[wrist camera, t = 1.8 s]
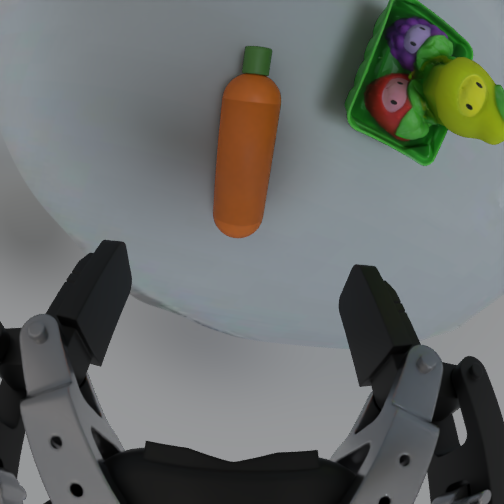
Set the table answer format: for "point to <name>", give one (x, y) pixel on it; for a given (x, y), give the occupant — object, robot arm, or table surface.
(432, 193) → the table surface
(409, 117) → the fruit basket
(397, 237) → the table surface
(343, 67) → the table surface
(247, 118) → the carrot
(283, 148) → the table surface
